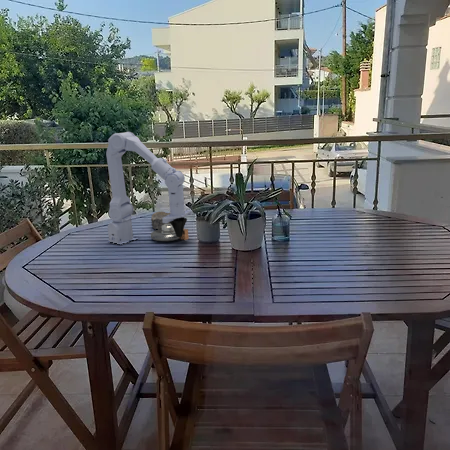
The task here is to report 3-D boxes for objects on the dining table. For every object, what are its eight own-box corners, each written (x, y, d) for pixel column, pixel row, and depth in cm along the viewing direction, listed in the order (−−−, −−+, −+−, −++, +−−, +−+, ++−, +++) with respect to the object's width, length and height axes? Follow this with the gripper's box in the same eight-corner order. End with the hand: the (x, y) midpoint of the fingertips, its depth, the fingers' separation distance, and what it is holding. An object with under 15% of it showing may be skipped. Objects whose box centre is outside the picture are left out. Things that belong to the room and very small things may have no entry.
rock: (175, 231, 177) (180, 222, 192) (174, 217, 176) (180, 209, 190) (146, 231, 178) (154, 222, 192) (146, 217, 176) (153, 209, 191)
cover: (169, 235, 162) (168, 228, 161) (158, 233, 166) (157, 226, 165) (179, 231, 167) (178, 224, 166) (169, 229, 170) (168, 222, 170)
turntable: (173, 244, 155) (172, 234, 154) (143, 237, 165) (142, 228, 164) (199, 234, 166) (198, 225, 165) (169, 228, 177) (168, 219, 176)
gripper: (170, 208, 147) (173, 243, 151) (196, 200, 158) (198, 233, 161) (157, 205, 151) (160, 240, 155) (183, 198, 162) (186, 230, 166)
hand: (179, 236), depth 158 cm, fingers closed
